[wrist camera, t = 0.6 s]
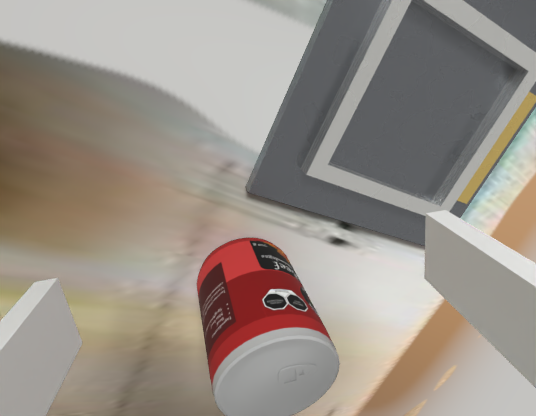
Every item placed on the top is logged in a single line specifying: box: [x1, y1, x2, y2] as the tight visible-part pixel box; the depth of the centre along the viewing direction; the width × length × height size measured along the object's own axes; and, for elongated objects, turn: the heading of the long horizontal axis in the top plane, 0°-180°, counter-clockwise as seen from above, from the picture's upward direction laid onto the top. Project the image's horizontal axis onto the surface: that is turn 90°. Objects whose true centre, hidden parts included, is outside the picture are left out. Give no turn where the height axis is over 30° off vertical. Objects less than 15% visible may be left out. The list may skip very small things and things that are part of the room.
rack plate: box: [246, 0, 536, 246], centre depth 28 cm, size 20×20×2 cm
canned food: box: [197, 238, 340, 416], centre depth 27 cm, size 8×8×11 cm
